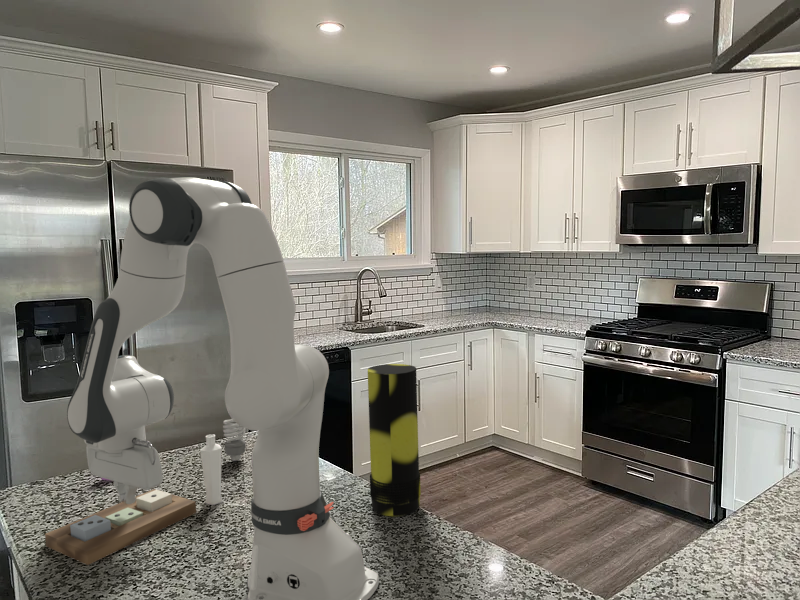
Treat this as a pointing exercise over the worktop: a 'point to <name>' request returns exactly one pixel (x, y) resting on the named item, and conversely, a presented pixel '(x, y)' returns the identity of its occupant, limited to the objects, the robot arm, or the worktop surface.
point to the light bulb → (234, 440)
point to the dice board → (119, 530)
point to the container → (393, 439)
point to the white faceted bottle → (212, 470)
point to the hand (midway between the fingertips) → (127, 502)
